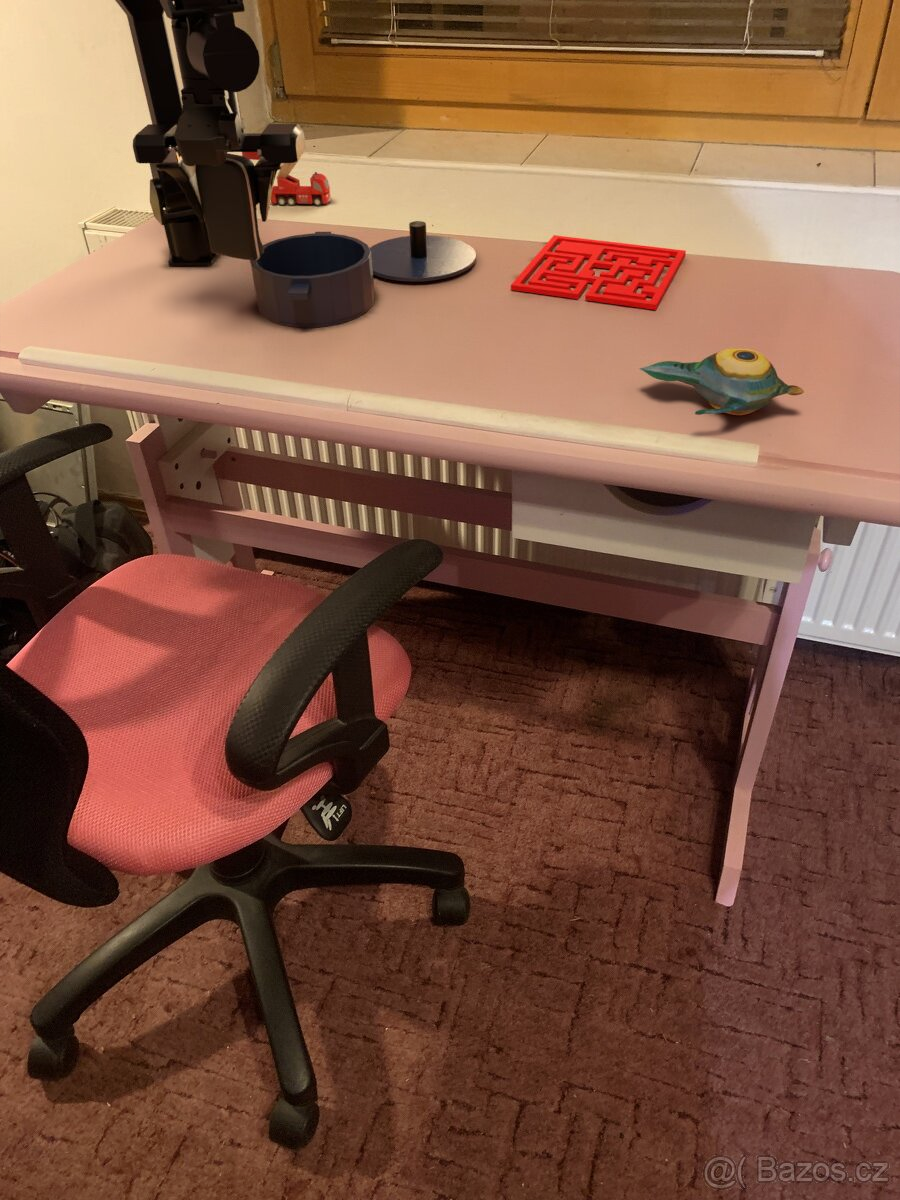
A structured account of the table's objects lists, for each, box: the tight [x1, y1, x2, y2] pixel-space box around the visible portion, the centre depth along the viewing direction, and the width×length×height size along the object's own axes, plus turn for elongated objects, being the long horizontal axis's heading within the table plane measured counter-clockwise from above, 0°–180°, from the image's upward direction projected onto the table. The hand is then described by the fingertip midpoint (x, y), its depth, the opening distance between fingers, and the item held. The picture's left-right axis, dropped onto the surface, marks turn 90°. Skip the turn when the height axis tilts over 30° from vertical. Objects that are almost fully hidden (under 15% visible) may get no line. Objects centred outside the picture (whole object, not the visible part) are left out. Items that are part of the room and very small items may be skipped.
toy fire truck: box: [241, 152, 331, 207], centre depth 147 cm, size 3×14×10 cm, turn 84°
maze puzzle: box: [510, 234, 687, 311], centre depth 124 cm, size 20×20×1 cm
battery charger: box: [195, 152, 264, 261], centre depth 106 cm, size 7×4×11 cm, turn 66°
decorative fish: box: [638, 347, 805, 416], centre depth 95 cm, size 13×12×6 cm
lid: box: [369, 220, 477, 282], centre depth 127 cm, size 17×17×6 cm
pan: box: [249, 231, 376, 329], centre depth 117 cm, size 16×21×6 cm
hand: (233, 220), depth 107 cm, fingers closed on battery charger, 7 cm apart
